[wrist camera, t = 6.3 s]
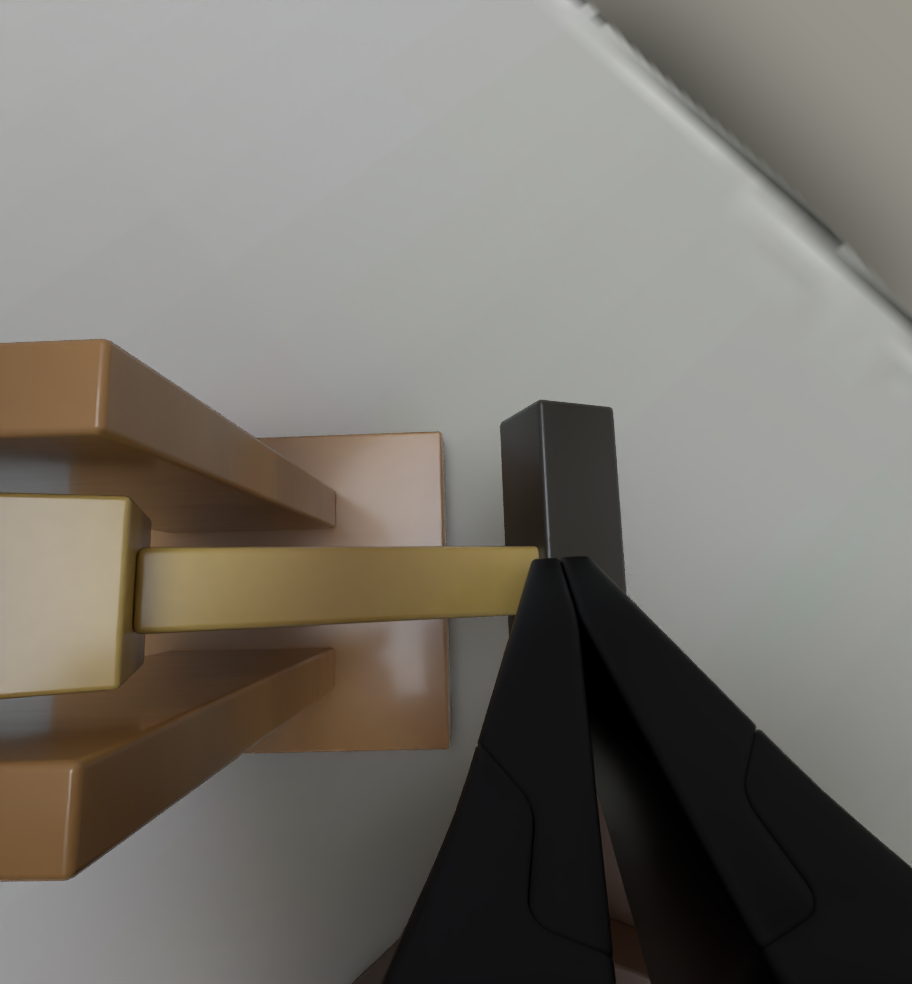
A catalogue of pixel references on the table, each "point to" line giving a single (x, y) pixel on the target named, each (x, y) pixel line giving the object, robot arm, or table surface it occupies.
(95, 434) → the switch bracket
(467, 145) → the table surface
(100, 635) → the switch lever
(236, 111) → the table surface
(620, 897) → the button box
